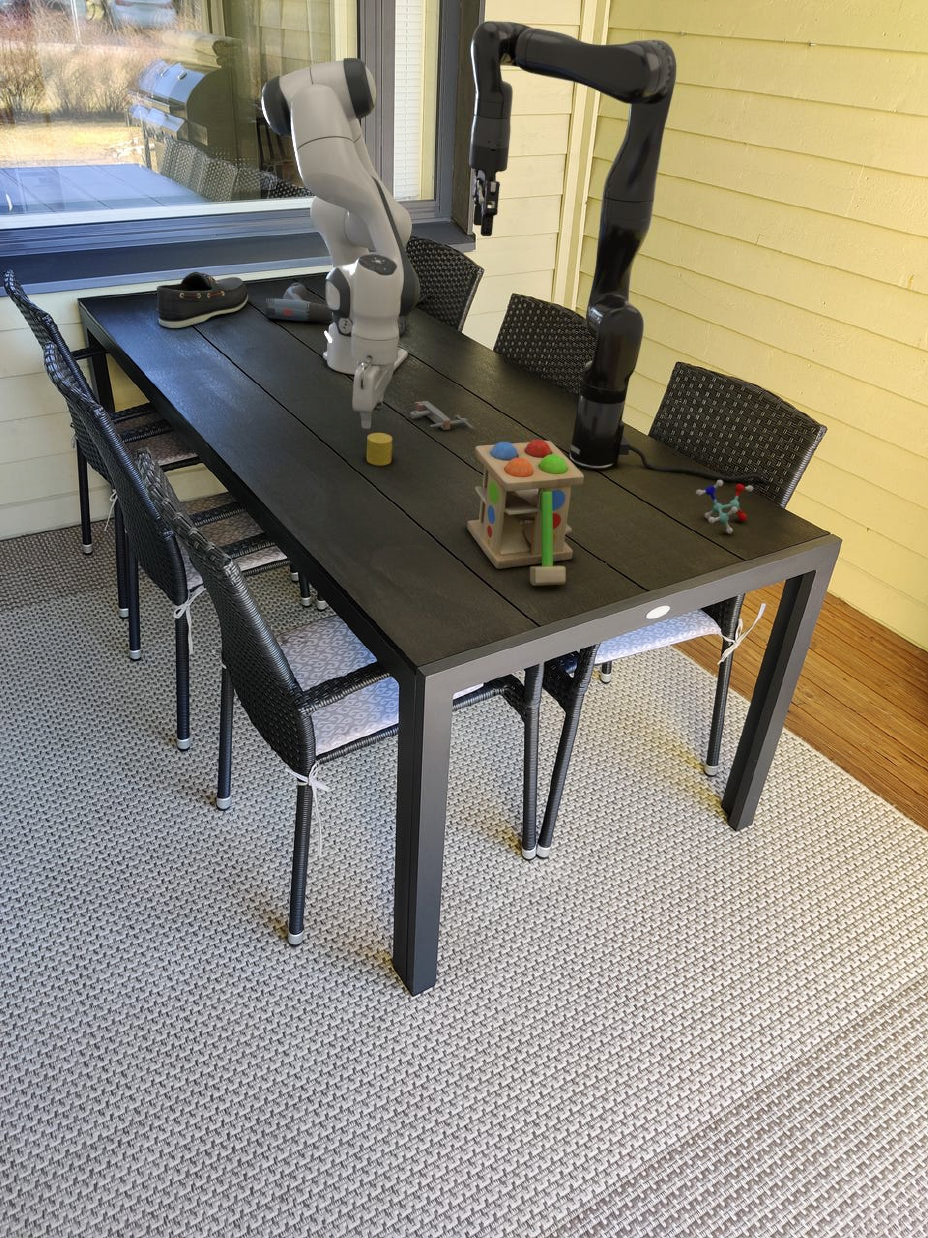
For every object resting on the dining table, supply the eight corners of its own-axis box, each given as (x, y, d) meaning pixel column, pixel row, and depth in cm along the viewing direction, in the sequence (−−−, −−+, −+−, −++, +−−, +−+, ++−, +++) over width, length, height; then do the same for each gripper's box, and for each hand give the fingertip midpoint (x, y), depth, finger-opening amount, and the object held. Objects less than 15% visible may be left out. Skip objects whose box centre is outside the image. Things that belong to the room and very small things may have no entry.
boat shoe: (266, 306, 270) (264, 267, 265) (176, 330, 246) (172, 288, 241) (231, 297, 276) (229, 259, 270) (140, 320, 252) (135, 279, 246)
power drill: (344, 304, 276) (335, 327, 259) (277, 298, 275) (264, 321, 258) (344, 285, 273) (335, 306, 256) (277, 279, 272) (264, 300, 255)
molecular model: (759, 527, 176) (743, 474, 175) (707, 542, 180) (691, 490, 179) (762, 518, 187) (747, 467, 185) (712, 532, 190) (698, 483, 189)
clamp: (402, 403, 214) (442, 397, 219) (402, 412, 215) (442, 407, 220) (435, 430, 204) (476, 423, 208) (434, 439, 205) (475, 433, 209)
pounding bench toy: (594, 585, 162) (612, 488, 152) (515, 596, 157) (528, 496, 147) (538, 519, 179) (551, 428, 169) (466, 527, 175) (475, 434, 165)
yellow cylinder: (374, 467, 192) (374, 444, 190) (362, 457, 195) (362, 434, 193) (395, 463, 195) (396, 440, 192) (383, 453, 198) (384, 431, 195)
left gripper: (379, 368, 174) (376, 440, 182) (401, 334, 191) (397, 401, 199) (344, 364, 175) (343, 436, 182) (369, 330, 192) (367, 397, 199)
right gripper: (464, 134, 194) (458, 220, 203) (477, 147, 182) (469, 238, 191) (501, 137, 195) (493, 222, 204) (516, 149, 183) (507, 240, 193)
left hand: (372, 418), depth 191 cm, fingers open, 8 cm apart
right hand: (482, 230), depth 198 cm, fingers open, 8 cm apart
